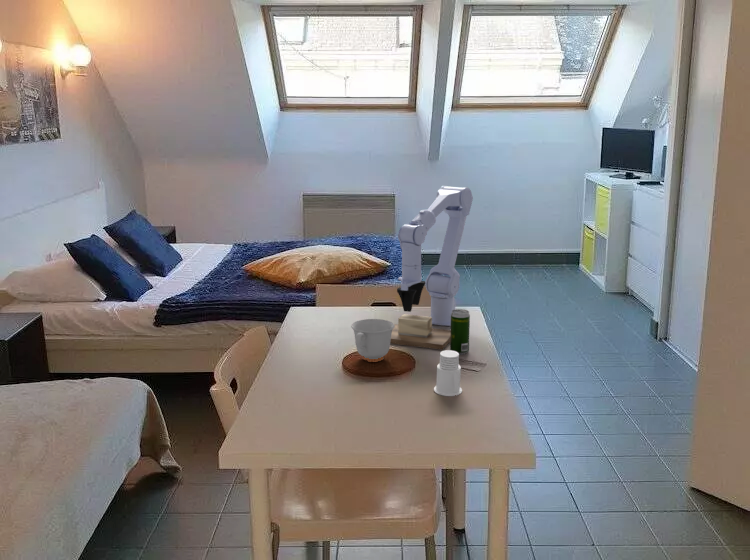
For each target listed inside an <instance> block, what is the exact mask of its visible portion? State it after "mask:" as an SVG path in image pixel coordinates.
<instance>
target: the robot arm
mask: <svg viewBox="0 0 750 560" xmlns="http://www.w3.org/2000/svg"><path fill="white" fill-rule="evenodd" d="M473 200H474V198H473V194H472V191H471V189H470V188H469V187H468V186H466V187H461V186H449V185H448V186H447V185H441V187H440V188H439V189H438V190H437V192H436V197H435V199H434V201H433V202H432V203H431V204H430V206H429V207H428V208H427V209H420V211H419V212H418V214H416V215H415V216H414V218H413V219H411V221H410V222H409V223H405V224H403V225H402V226H401V227H400V228H399V231H398V234H397V239H398V242H399V244H400V249H401V276H399V277H398V278H397V279H398V281H401V283H400V287H398V288H397V289H396V292H397V294H398V296H399V298H400V300H401V304H402V308H403V312H410V313H411V312H412V310H413V305H414V306H419V304H420V301H421V295H422V292H423V289H424V287H425V289H426V291H427V292H428V295H429V296H430V317H432V325H436V326H444V327H445V326H446V327H451V313H452V310H456V298H455V296H456V295H457V294H458V292H459V289H460V278H461V275H460V273H459V271H457V270H456V268H455V265H456V262H457V257H458V253H459V249H460V244H461V242H462V236H463V232H464V228H465V225H466V220H467V217H468V216H469V215H470V211H471V208H472V203H473ZM443 212H444V213H445V214H447V215H448V217H449V219H448V223H447V227H446V231H445V234H444V235H445V236H444V240H443V244H442V247H441V252H440V256H439V260H438V263H437V264H436V265H435V266H433V267H432V268H430V271H429V272H428V273H429V274H428V275H427V277H426V279H425V280H422V279H423V278H422V244H423V243H424V242H425V240H426V236H427V235H428V232H429V231H430V229H431V228H432V227H433V226H434V225H435V224H436V221H437V219H436V218H437V217H438V216H439V215H441V213H443Z"/></svg>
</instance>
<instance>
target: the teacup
mask: <svg viewBox="0 0 750 560" xmlns="http://www.w3.org/2000/svg"><path fill="white" fill-rule="evenodd" d="M394 324H395V323H393V322H392V321H389V320H387V319H386V320H385V319H379V318H368V319H367V318H366V319H365V318H364V319H360V320H357V321H354V322H353V323H352V324H351V325H350V328H351V329H352V330H353V335H354V340H355V342H354V343H355V346H356V351H357V353H358V355H360V356H361V357H363V356H364V357H365V358H369V359H378V358H381V357H383V358H384V356H386V355H387V354H388V352H389V351H390V348H391V343H390V341H391V334H392V329H393V328H394V327H395V325H394Z"/></svg>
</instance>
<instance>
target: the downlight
mask: <svg viewBox="0 0 750 560" xmlns="http://www.w3.org/2000/svg"><path fill="white" fill-rule="evenodd" d="M459 360H460V355H459V353H458V352H456V351H452V350H450V349H447V350H441V351H440V353H439V363H438V364H437V365H436V385H435V386H434V387H433V391H434V392H435V394H437V395H439V396H443V397H455V395H456V396H458V395H460V394H462V392H463V388H462V387H461V371H462V366H461V365H460V364H459Z"/></svg>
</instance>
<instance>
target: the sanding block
mask: <svg viewBox="0 0 750 560" xmlns="http://www.w3.org/2000/svg"><path fill="white" fill-rule="evenodd" d="M397 324H398V334H399V335H408V336H416V337H425V338H427V337H428V336H429V335H430V334H431V333H432V328H433V324H432V317H431V316H426V315H417V314H416V315H415V314H408V313H404V314H402V315H401V316H400V317H398V322H397Z"/></svg>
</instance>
